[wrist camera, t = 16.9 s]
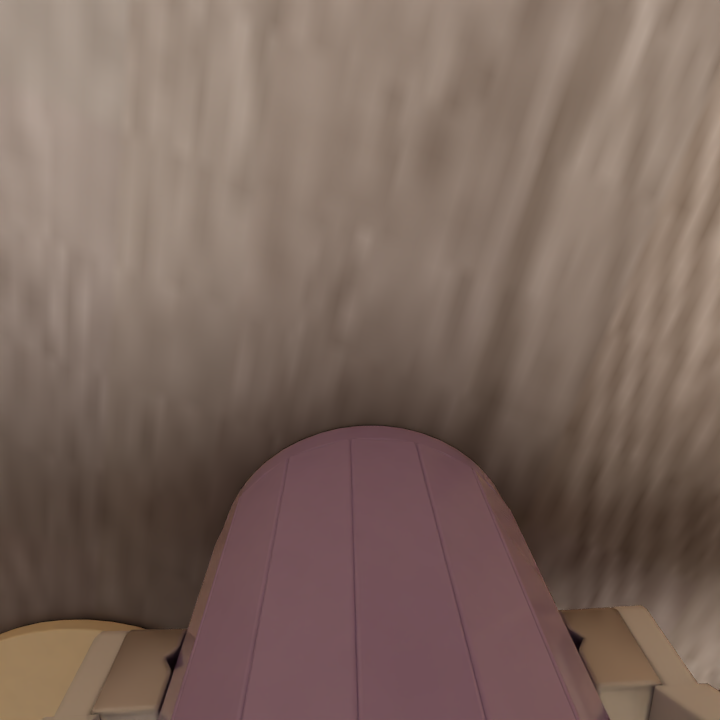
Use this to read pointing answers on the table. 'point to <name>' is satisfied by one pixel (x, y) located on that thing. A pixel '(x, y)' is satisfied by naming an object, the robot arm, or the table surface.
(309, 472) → the purple tumbler
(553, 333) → the table surface
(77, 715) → the robot arm
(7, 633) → the coasters
